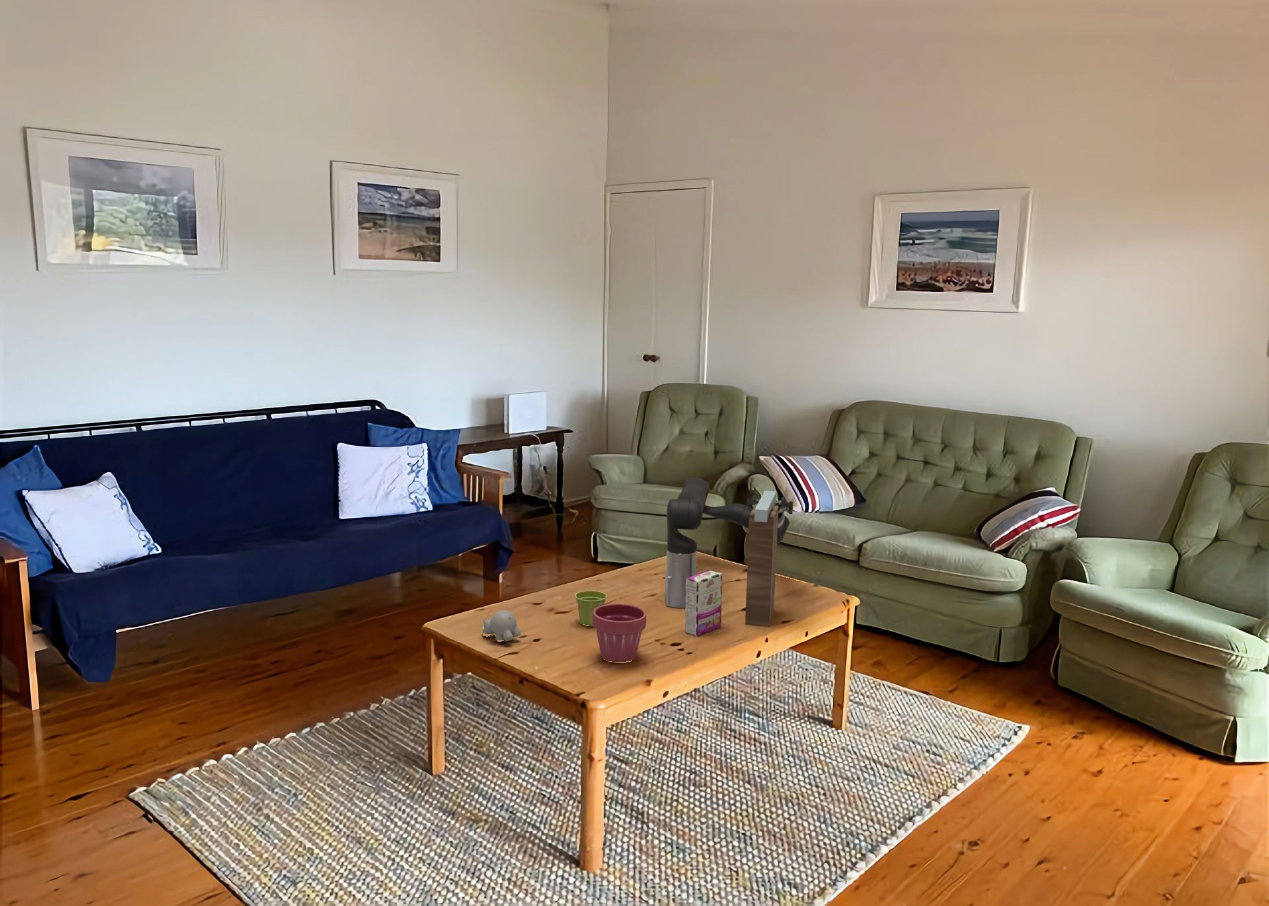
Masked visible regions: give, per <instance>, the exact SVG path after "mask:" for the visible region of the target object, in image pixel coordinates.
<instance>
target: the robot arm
mask: <svg viewBox="0 0 1269 906" xmlns="http://www.w3.org/2000/svg"><path fill="white" fill-rule="evenodd" d="M710 489H711V488H710V484H709V483H708V482H707V481H706V480H704V479H702V478H700V477H694V476H693V477H692V476H691V477H688V478H686V479H685V480H684V483H683V486H682V489H681V492H680V493H679V494H678V496H677V498H671V499H670V500H669V501H668V503H667V507H666V524H667V525H666V526H667V528H666V529H667V531H666V534H667V536H666V537H667V538H666V540H667V541H666V569H665V570H666V571H665V573H664V602H665V605H666V607H670V608H676V609H678V608H679V609H685V593H686V578H689V577H692V576H695V575H697V554H698V553H697V552H698V551H697V549H698V545H697V541H695V540H694V539H693V538H690V537H688V536H686V535H685V534H683V533H681V532H680V531H679V530H686V531H687V530H689V531H690V530H692V531H694V530H697V529H699V528H700V526H701V525H702V521H703V515H707V516H711V517H713V518H717V519H720V520H724V521H728V522H731V523H733V524H737V525H739V526H742V527H743V528H745V529H748V530H749V518H750V513H751V511H752V510H753V508H754V506H755V504H758V503H759V501H760V499H761V498H759V499H758V497H757V495H753V496H751V498H750V497H749V498H747V500H746V505H745V504H743V503H731V504H730V503H729V504H725V505H721V506H711V505H707V504H706V502H707V499H708V496H709V493H710ZM775 506H778V531H777V545H778V544H780V543H781V542H782V541H783V540H784V537H785V535H786V532H787V530H788V528H789V527H790V520H789V518H788V516H786V515H785V512H787V514H788V515H793V511H794V501H789V502H788V500H787V499H786V498H785V497H783V496H782V497H781V500H776V503H775Z"/></svg>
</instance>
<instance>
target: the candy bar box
mask: <svg viewBox="0 0 1269 906" xmlns="http://www.w3.org/2000/svg"><path fill="white" fill-rule="evenodd" d="M722 587H723V573H721V572H717V571H714V570H706V571H704V572H701V573H697V574H696V575H695V576H692V577H689V578H686V593H685V608H684V609H685V610H684V611H685V612H684V613H685V615H684V619H685V620H684V632H685V633H686V634H688V635H691V634H692V635H691V636H695V637H699V636H702V635H704V634H707V633H710V632H712V631H714V630H717V629H719V628H721V627H722V597H723V596H722V593H723V588H722Z"/></svg>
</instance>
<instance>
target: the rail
mask: <svg viewBox="0 0 1269 906" xmlns="http://www.w3.org/2000/svg"><path fill="white" fill-rule="evenodd" d="M759 499H760V501H759V503H758V505H757V506H756V508H755V519H754V521H757V522H767V520H768V518H769V516H770V514H771V512H772V510H773V508H774V505H775V503H776V501H777V491H774V490H764V492H763V494H762V496H761V498H759Z"/></svg>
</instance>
